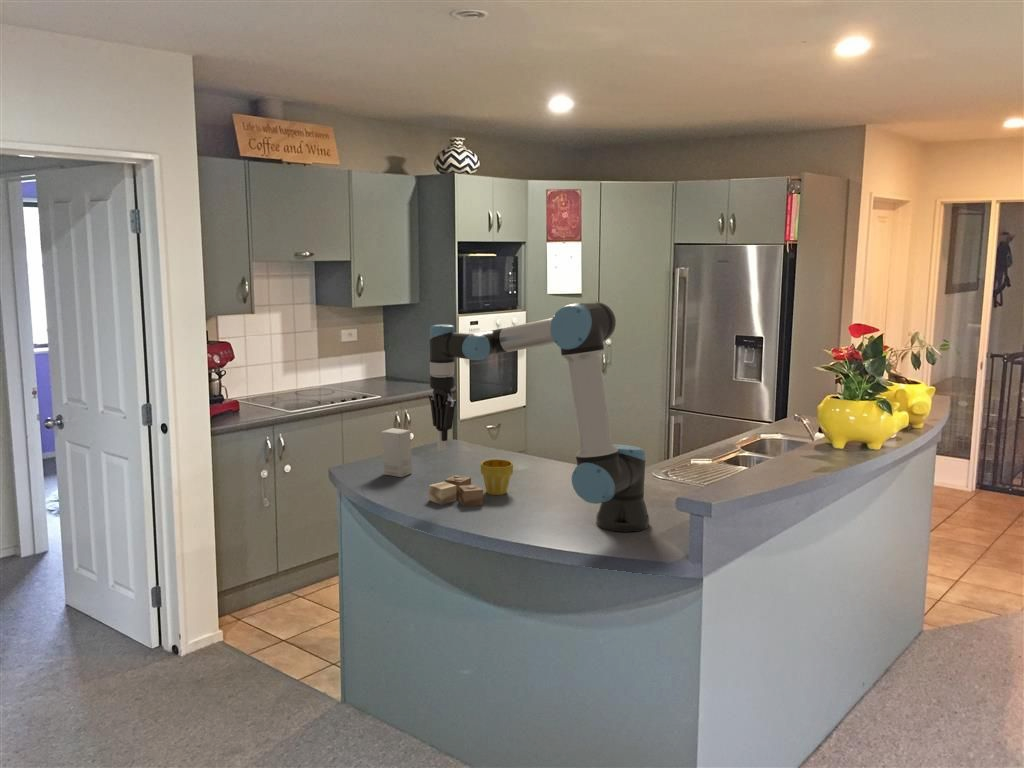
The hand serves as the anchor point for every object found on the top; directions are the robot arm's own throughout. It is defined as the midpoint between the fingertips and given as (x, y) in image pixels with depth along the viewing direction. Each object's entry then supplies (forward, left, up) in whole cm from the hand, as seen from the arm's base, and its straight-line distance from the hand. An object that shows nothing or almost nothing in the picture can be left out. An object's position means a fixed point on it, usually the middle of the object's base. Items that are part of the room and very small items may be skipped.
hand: (442, 450), depth 267 cm
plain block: (0, 0, -16) cm, 16 cm away
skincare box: (+35, -2, -16) cm, 39 cm away
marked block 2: (-7, -6, -16) cm, 19 cm away
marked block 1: (+4, -8, -16) cm, 19 cm away
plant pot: (-2, -19, -16) cm, 25 cm away
